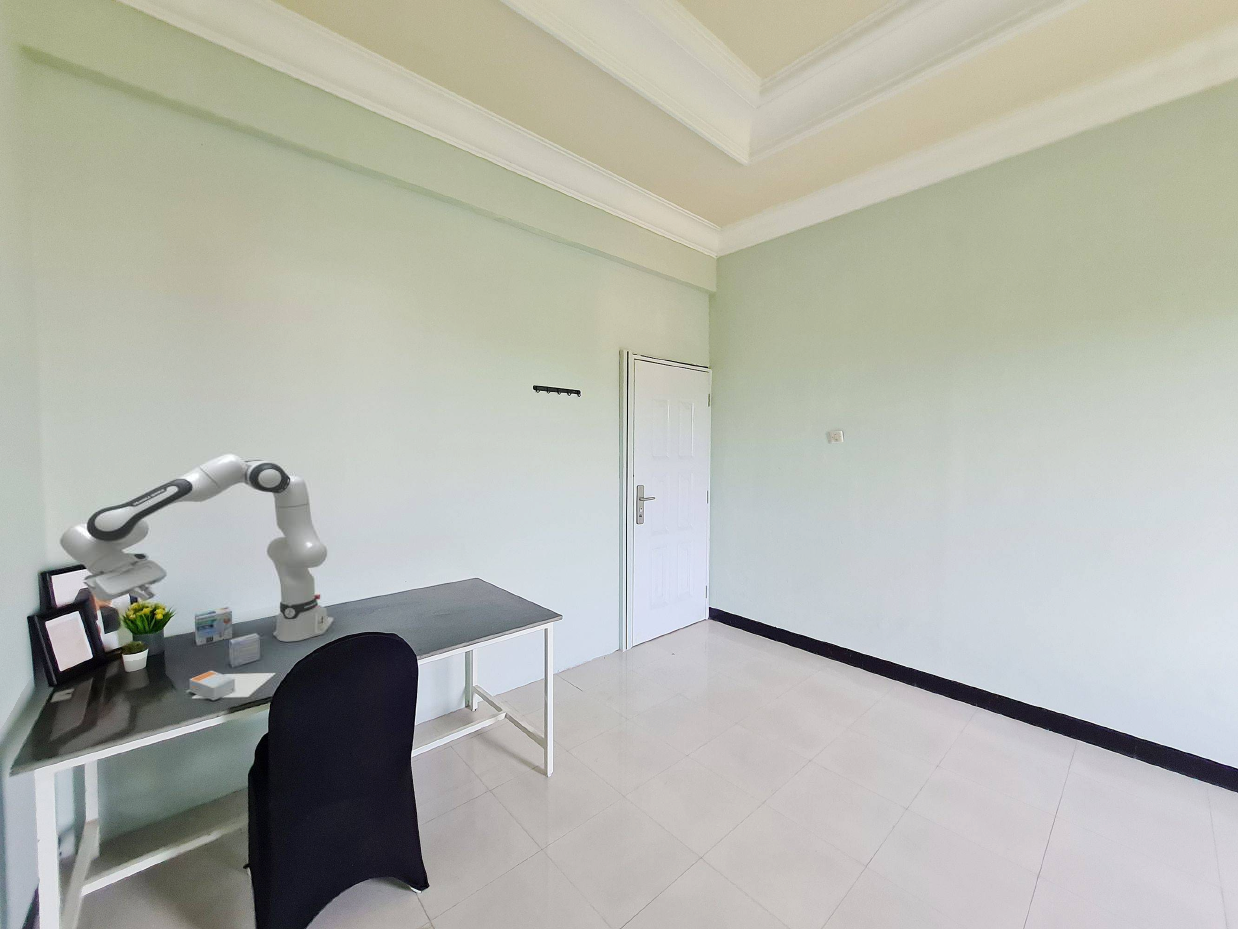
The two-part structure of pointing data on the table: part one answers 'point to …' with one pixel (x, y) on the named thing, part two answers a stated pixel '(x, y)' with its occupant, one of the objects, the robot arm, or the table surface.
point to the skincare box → (212, 685)
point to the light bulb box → (213, 625)
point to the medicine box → (244, 650)
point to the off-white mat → (244, 684)
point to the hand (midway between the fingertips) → (150, 598)
